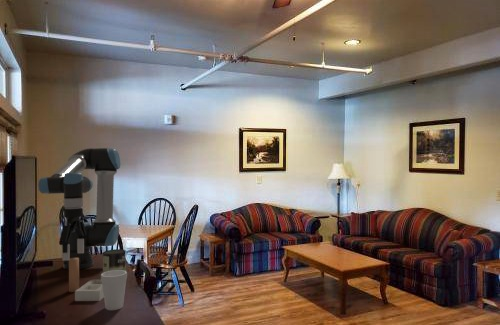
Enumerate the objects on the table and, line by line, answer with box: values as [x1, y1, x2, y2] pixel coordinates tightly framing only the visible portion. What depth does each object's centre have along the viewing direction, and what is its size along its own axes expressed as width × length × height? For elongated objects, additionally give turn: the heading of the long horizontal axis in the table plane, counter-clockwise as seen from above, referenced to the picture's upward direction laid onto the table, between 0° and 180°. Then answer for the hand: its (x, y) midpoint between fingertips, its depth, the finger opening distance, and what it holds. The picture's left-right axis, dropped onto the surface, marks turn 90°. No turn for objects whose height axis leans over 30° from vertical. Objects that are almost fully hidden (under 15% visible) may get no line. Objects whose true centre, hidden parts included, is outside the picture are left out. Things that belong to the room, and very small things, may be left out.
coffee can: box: [102, 248, 127, 273], centre depth 180 cm, size 10×10×14 cm
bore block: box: [74, 278, 104, 302], centre depth 162 cm, size 16×10×4 cm, turn 179°
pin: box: [68, 258, 80, 293], centre depth 167 cm, size 4×4×14 cm
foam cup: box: [100, 270, 128, 311], centre depth 147 cm, size 10×9×13 cm
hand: (73, 256), depth 166 cm, fingers open, 13 cm apart
